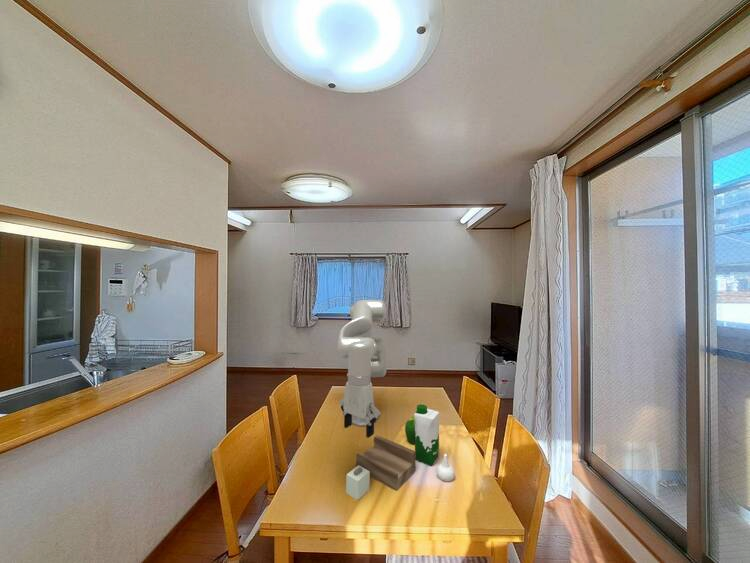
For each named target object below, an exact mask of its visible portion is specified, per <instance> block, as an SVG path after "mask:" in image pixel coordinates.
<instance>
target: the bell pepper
mask: <svg viewBox="0 0 750 563" xmlns="http://www.w3.org/2000/svg"><path fill="white" fill-rule="evenodd" d="M411 418H412V419H411V420H410V419H408V420H407V421H406V423H405V426H404V432H405V437H406V439H407V441H408V443H410V444H413V445H415V418H414V415H411Z"/></svg>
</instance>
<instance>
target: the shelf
mask: <svg viewBox="0 0 750 563" xmlns="http://www.w3.org/2000/svg"><path fill="white" fill-rule="evenodd" d="M416 463H417V462H416V451H415V449H414V450H413V449H411V448H408V447H407V446H404V445H402V444H399V443H396V442H394V441H392V440H390V439H387V438H385V437H383V436H381V435H377V434H376V435H375V436H374V437H373V446H372V447H370V448H369V449H368V450H366V451H365V452H364V453H362V454H359V453H356V455H355V468H356V467H357V466H358V465H359V466H361V467H362V468H364V469H366V470H368V471H370V477H371V478H372V479H374V480H375V481H377V482H378V483H381V484H383V485H385V486H386V487H389V488H390V489H392V490H394V491H398V490H399V489H400V487H402V486H403V484H405V482H406V481H407V480H408V479H409V478H410V477H411V476H412V475H413V474H414V473H415V472H416V466H417V465H416Z"/></svg>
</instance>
